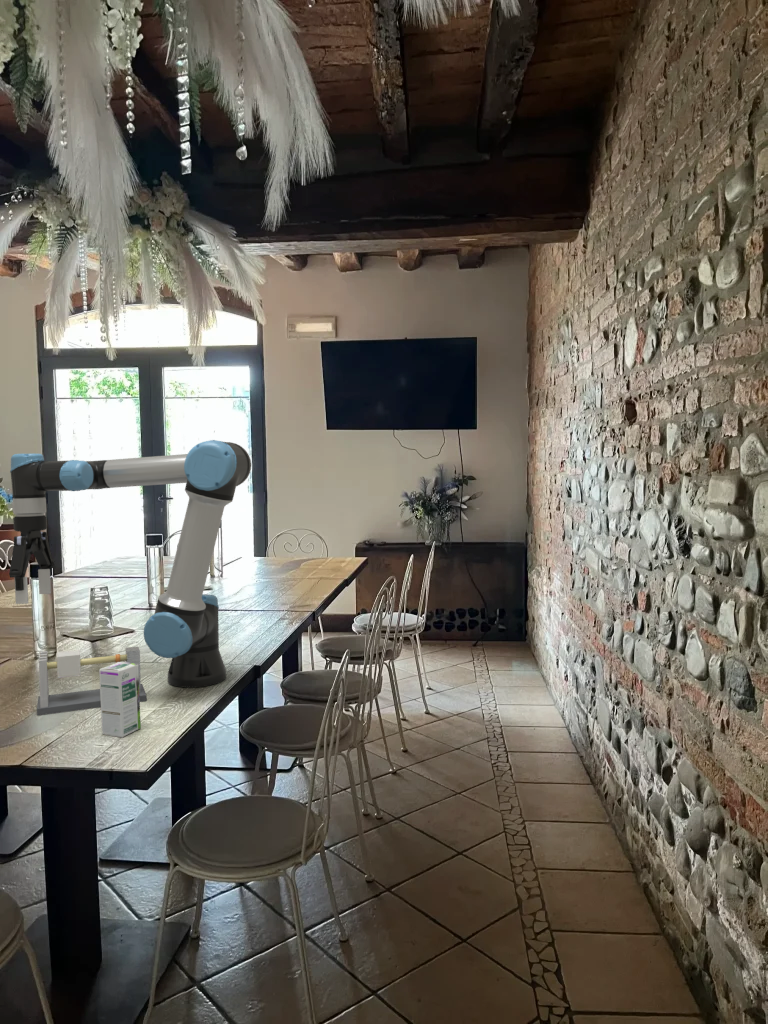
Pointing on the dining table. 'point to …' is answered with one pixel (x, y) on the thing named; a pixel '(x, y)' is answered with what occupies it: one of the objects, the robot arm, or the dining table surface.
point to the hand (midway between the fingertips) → (34, 598)
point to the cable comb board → (80, 698)
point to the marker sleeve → (68, 663)
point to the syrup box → (120, 699)
